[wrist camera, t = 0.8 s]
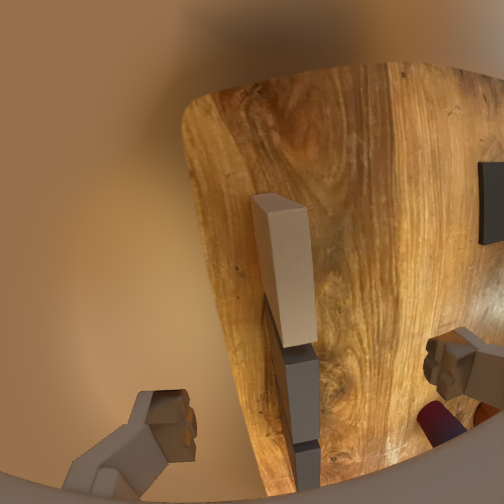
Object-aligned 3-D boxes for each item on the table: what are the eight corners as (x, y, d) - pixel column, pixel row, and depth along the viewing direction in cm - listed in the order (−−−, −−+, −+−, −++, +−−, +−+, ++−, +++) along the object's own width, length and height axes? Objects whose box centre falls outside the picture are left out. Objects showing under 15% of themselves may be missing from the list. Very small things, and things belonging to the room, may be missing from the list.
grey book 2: (274, 373, 36) (294, 453, 23) (294, 369, 36) (320, 448, 23) (280, 421, 38) (298, 496, 25) (298, 418, 38) (319, 491, 26)
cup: (450, 394, 41) (496, 447, 26) (434, 422, 42) (473, 476, 28) (422, 398, 40) (469, 459, 26) (406, 428, 42) (444, 488, 27)
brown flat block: (249, 195, 30) (266, 212, 18) (273, 192, 30) (307, 206, 18) (261, 281, 33) (283, 348, 20) (284, 278, 33) (318, 341, 20)
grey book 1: (263, 295, 33) (285, 366, 20) (285, 291, 33) (318, 359, 20) (272, 363, 35) (292, 444, 23) (292, 359, 35) (320, 438, 23)
